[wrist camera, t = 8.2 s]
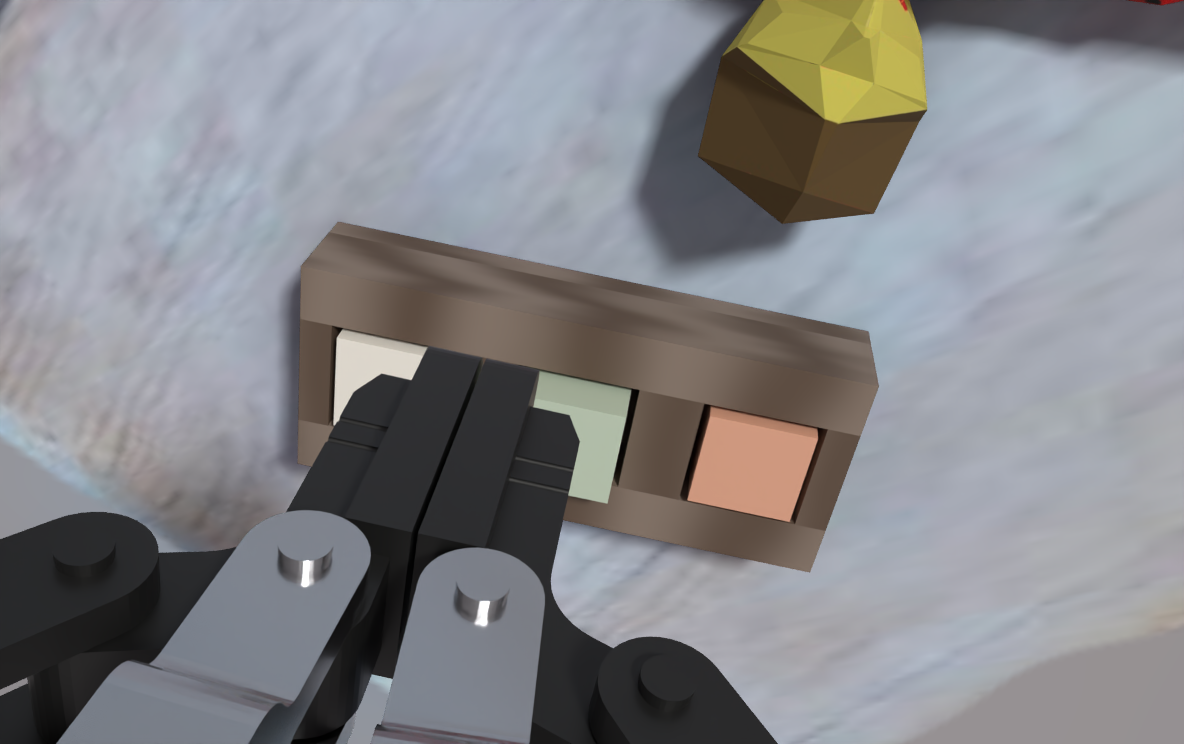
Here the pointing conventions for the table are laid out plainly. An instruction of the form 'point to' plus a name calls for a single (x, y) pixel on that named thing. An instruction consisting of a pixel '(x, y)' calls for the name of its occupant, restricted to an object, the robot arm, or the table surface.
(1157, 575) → the table surface
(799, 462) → the terracotta button
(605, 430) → the sage button
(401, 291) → the button board
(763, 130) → the toy
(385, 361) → the cream button
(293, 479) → the table surface
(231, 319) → the table surface
